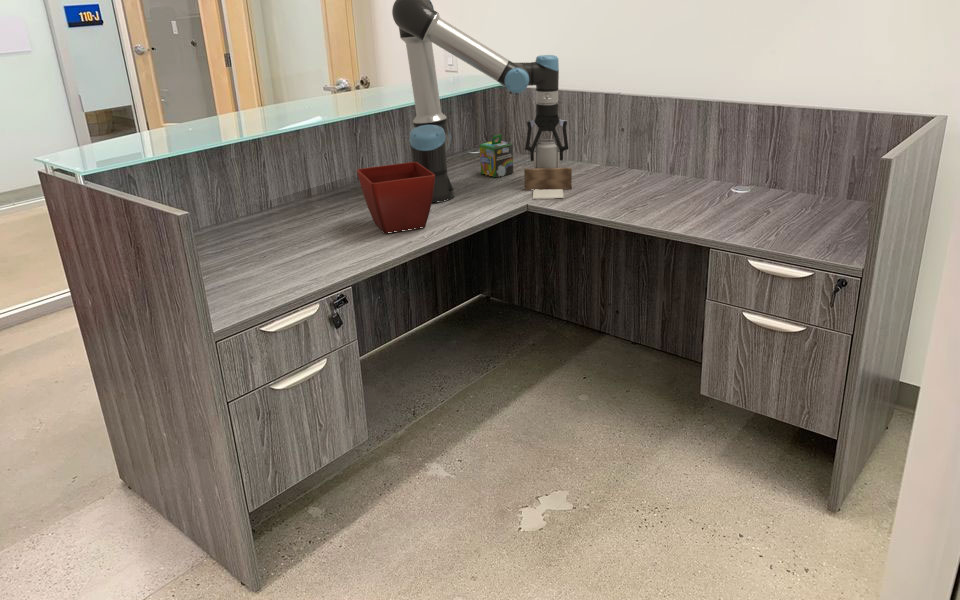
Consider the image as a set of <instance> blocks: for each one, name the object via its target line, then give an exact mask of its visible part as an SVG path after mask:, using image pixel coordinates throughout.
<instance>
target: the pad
mask: <svg viewBox="0 0 960 600" xmlns="http://www.w3.org/2000/svg"><path fill="white" fill-rule="evenodd" d="M532 191H533V193H532V200H533V199H548V200H554V199H553V198H563V199H564V189H552V190H532Z"/></svg>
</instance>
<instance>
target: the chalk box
mask: <svg viewBox="0 0 960 600" xmlns="http://www.w3.org/2000/svg"><path fill="white" fill-rule="evenodd" d="M497 138H498V139H497ZM502 138H503V134H502V133H500V134H496V135H493V136H492V139H491V141H488V142H485V143H481V144H479V159H480V175H483V174H485V175H484V176H487V175H489V176H488V177H490V176H493V177H492V178H494V177H498V178H500V176H501V177H505V176H504V175H506V176H508V175H507V174H510V175H513V174H514V143H512V142H508V141H502ZM512 173H513V174H512Z"/></svg>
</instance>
